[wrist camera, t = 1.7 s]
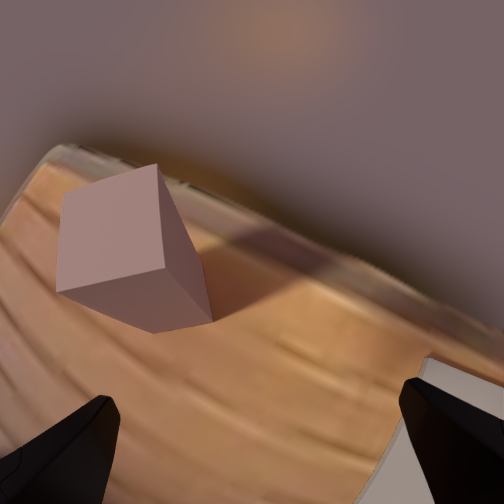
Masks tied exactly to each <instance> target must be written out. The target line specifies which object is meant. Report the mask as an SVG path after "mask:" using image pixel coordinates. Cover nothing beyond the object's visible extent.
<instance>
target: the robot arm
mask: <svg viewBox="0 0 504 504" xmlns="http://www.w3.org/2000/svg"><path fill="white" fill-rule="evenodd" d="M399 406H400V409H401V412H402V416H403V419H404V422H405V425H406V429H407V432H408V436H409V439H410V442H411V444H412V447H413V449H414V452H415V454H416V456H417V459H418V461H419V464H420V466H421V469H422V471H423V474H424V476H425V479H426V482H427V484H428V487H429V489H430V492H431V495H432V498H433V500H434V503H435V504H504V420H502V419H499V418H498V417H496V416H494V415H492V414H490V413H488V412H486V411H484V410H481V409H479V408H477V407H475V406H473V405H471V404H469V403H467V402H465V401H463V400H461V399H459V398H457V397H455V396H453V395H451V394H449V393H447V392H445V391H443V390H442V389H440V388H438V387H436V386H434V385H432V384H430V383H428V382H426V381H424V380H422V379H420V378H418V377H415V378H411V379H407V380H406V381H405V382H404V385H403V388H402V391H401V394H400V396H399ZM119 425H120V413H119V411H118V409H117V407H116V405H115V403H114V401H113V399H112V398H111V397H110V396H104V395H98V396H97V397H95V398H94V399H92V400H91V401H89V402H88V403H87V404H85V405H84V406H82V407H81V408H79V409H78V410H76V411H75V412H73V413H72V414H70V415H69V416H67V417H66V418H64V419H63V420H61V421H60V422H58V423H57V424H55V425H54V426H52V427H51V428H49V429H48V430H46V431H45V432H43V433H42V434H40V435H39V436H37V437H36V438H34V439H32V440H31V441H29V442H28V443H26V444H25V445H23V447H20V448H18V449H17V450H15V451H14V452H12V453H10V454H9V455H7V456H5V457H3V458H1V459H0V504H102V501H103V497H104V493H105V489H106V485H107V482H108V478H109V474H110V471H111V467H112V463H113V459H114V454H115V448H116V442H117V436H118V431H119Z"/></svg>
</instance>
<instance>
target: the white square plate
mask: <svg viewBox="0 0 504 504" xmlns="http://www.w3.org/2000/svg"><path fill="white" fill-rule="evenodd" d="M418 378H420V379H422V380H424V381H426V382H428V383H430V384H432V385H434V386H436V387H438V388H440V389H442V390H443V391H445V392H447V393H449V394H451V395H453V396H455V397H457V398H459V399H461V400H463V401H465V402H467V403H469V404H471V405H473V406H475V407H477V408H479V409H481V410H484V411H486V412H488V413H490V414H492V415H494V416H496V417H498V418H499V419H502V420H504V388H503V387H500V386H498V385H495V384H493V383H490V382H488V381H485V380H483V379H480V378H478V377H475V376H473V375H470V374H468V373H465V372H463V371H461V370H458V369H456V368H453V367H451V366H449V365H446V364H444V363H441V362H439V361H437V360H434V359H432V358H430V357H429V358H424V361H423V364H422V367H421V370H420V373H419V375H418ZM353 504H435V503H434V500H433V498H432V495H431V492H430V489H429V487H428V484H427V482H426V479H425V476H424V474H423V471H422V469H421V466H420V464H419V461H418V459H417V456H416V454H415V452H414V449H413V447H412V444H411V442H410V439H409V436H408V432H407V429H406V425H405V422H404V419H403V416H402V418H401V420H400V422H399V424H398V426H397V428H396V431H395V433H394V435H393V437H392V439H391V441H390V443H389V445H388V447H387V448H386V450H385V452H384V454H383V456H382V458H381V460H380V461H379V463H378V465H377V467H376V468H375V470H374V472H373V474H372V475H371V477H370V478H369V480H368V482H367V483H366V485H365V487H364V488H363V490H362V491H361V493H360V494H359V496H358V497H357V499H356V500H355V502H354V503H353Z"/></svg>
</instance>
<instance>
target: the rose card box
mask: <svg viewBox="0 0 504 504" xmlns="http://www.w3.org/2000/svg"><path fill="white" fill-rule="evenodd" d="M56 292H57V293H59V294H61V295H63V296H65V297H67V298H69V299H71V300H73V301H76V302H78V303H80V304H82V305H84V306H86V307H89V308H91V309H93V310H95V311H98V312H100V313H102V314H105V315H107V316H109V317H112V318H114V319H116V320H119V321H121V322H124V323H126V324H129V325H131V326H134V327H136V328H139V329H142V330H144V331H147V332H150V333H152V334H155V333H160V332H166V331H171V330H177V329H182V328H187V327H193V326H198V325H203V324H208V323H213V318H212V313H211V308H210V303H209V298H208V293H207V288H206V283H205V277H204V272H203V266H202V262H201V260H200V258H199V256H198V254H197V252H196V250H195V248H194V245H193V243H192V241H191V239H190V237H189V235H188V233H187V231H186V228H185V226H184V224H183V222H182V220H181V217H180V215H179V213H178V211H177V209H176V206H175V204H174V202H173V200H172V197H171V195H170V193H169V191H168V188H167V186H166V184H165V182H164V179H163V177H162V175H161V172H160V170H159V168H158V165H157V163H156V164H153V165H150V166H145V167H142V168H138V169H135V170H131V171H128V172H125V173H121V174H118V175H115V176H112V177H109V178H106V179H103V180H100V181H97V182H94V183H91V184H88V185H85V186H82V187H79V188H77V189H74V190H71V191H68V192H66V193H64V198H63V205H62V212H61V220H60V230H59V241H58V255H57V283H56Z"/></svg>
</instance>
